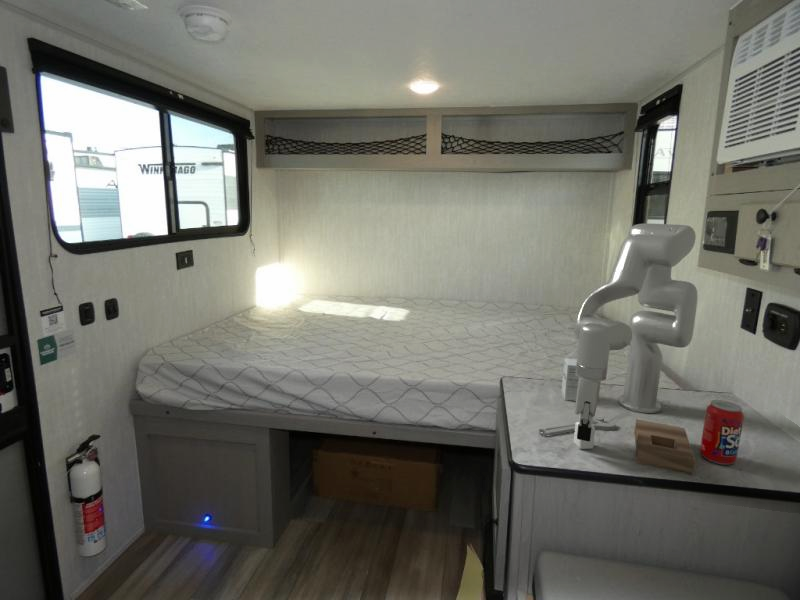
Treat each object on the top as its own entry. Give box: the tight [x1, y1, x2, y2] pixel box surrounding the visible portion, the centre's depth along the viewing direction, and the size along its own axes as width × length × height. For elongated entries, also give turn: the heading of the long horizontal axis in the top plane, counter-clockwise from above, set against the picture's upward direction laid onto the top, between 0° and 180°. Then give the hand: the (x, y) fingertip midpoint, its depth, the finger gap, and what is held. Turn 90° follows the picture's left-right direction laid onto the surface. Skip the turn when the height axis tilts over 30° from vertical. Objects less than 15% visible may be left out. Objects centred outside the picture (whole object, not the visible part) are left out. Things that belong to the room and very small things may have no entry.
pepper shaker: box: [573, 411, 596, 450], centre depth 123 cm, size 4×4×10 cm
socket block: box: [634, 419, 695, 475], centre depth 121 cm, size 18×12×4 cm, turn 155°
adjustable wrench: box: [537, 416, 616, 437], centre depth 134 cm, size 25×6×2 cm, turn 103°
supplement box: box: [561, 357, 579, 402], centre depth 155 cm, size 7×7×13 cm
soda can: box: [699, 399, 745, 466], centre depth 117 cm, size 8×8×15 cm
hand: (584, 432), depth 123 cm, fingers open, 7 cm apart
